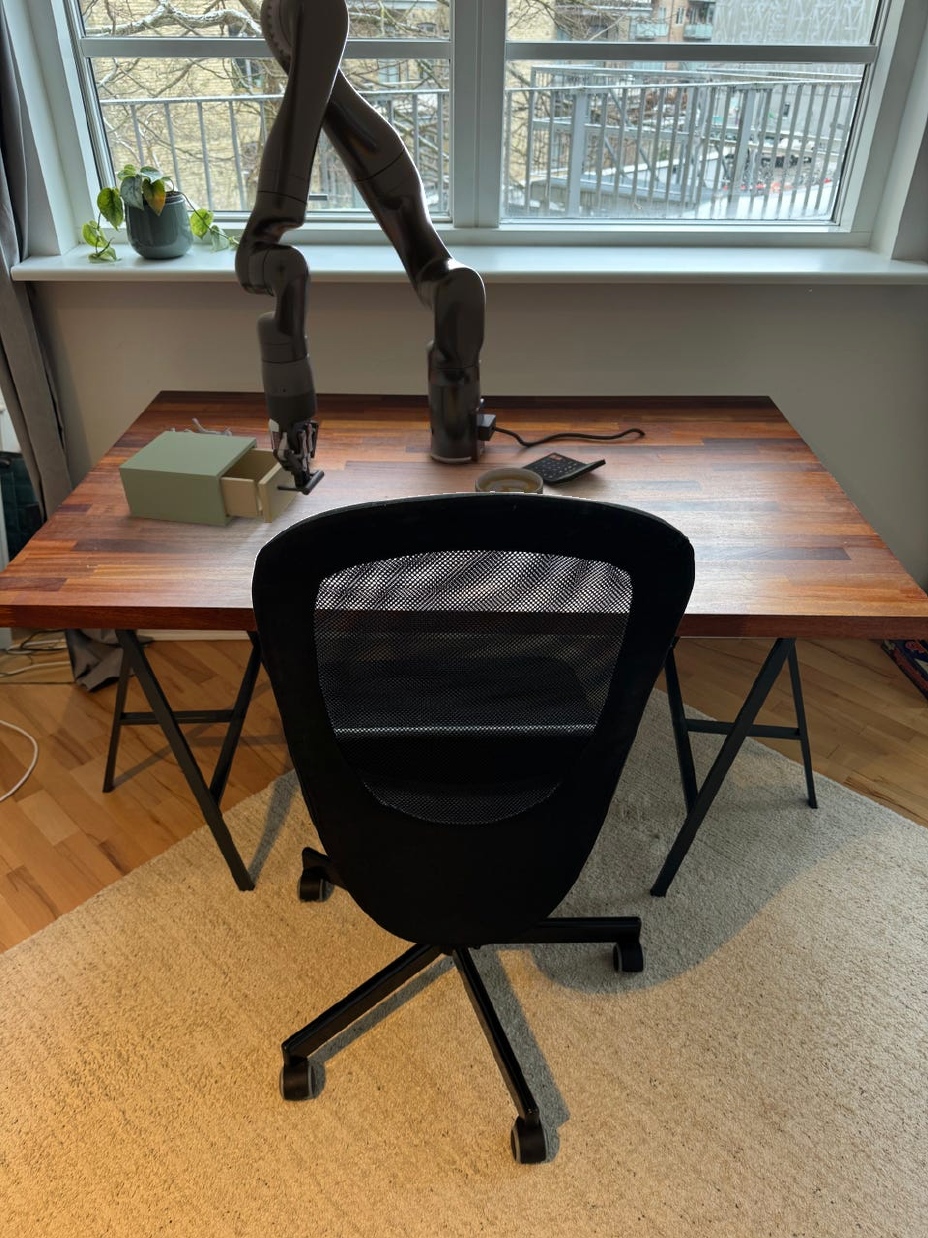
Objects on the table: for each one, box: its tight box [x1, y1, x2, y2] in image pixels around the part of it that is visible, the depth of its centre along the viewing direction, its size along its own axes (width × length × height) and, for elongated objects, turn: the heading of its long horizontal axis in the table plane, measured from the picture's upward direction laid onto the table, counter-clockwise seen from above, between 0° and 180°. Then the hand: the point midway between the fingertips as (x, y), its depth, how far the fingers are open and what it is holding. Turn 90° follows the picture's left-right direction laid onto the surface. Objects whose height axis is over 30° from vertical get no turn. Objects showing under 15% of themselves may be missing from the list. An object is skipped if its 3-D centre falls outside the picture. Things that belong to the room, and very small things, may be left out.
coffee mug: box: [474, 466, 544, 495], centre depth 133 cm, size 13×10×10 cm
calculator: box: [521, 452, 607, 487], centre depth 152 cm, size 9×12×3 cm
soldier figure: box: [170, 417, 233, 436], centre depth 166 cm, size 8×5×12 cm
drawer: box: [219, 448, 325, 525], centre depth 144 cm, size 21×14×7 cm, turn 76°
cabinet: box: [117, 430, 259, 527], centre depth 146 cm, size 17×15×9 cm
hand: (304, 489), depth 142 cm, fingers closed
